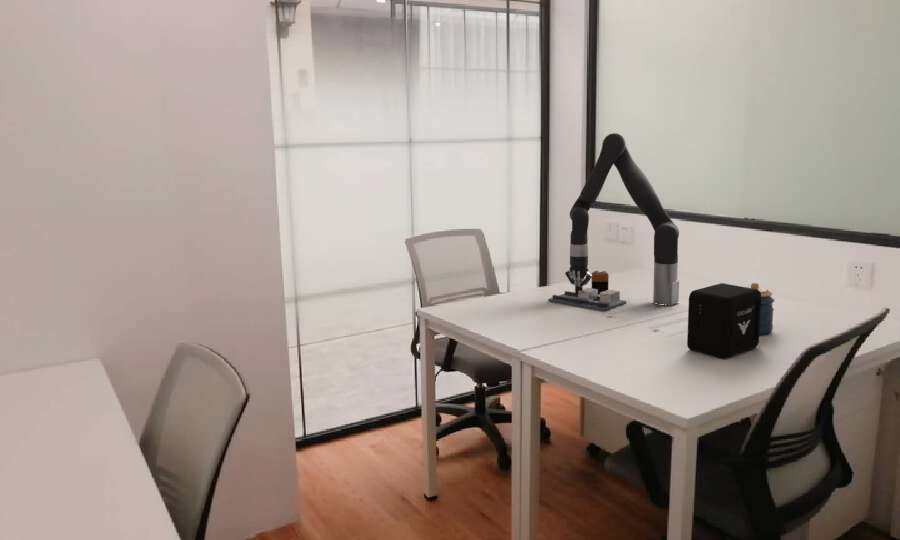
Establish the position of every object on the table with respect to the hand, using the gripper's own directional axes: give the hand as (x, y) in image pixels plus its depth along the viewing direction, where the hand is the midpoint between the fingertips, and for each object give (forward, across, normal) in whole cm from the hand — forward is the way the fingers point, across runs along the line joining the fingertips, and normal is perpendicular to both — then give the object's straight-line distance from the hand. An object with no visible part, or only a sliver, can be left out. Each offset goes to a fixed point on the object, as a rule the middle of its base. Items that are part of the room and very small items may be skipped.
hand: (578, 294), depth 306 cm
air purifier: (+3, -74, +26) cm, 79 cm away
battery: (+3, +1, -18) cm, 18 cm away
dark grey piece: (+3, -4, 0) cm, 5 cm away
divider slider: (+1, -5, +2) cm, 5 cm away
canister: (+3, -73, 0) cm, 73 cm away
